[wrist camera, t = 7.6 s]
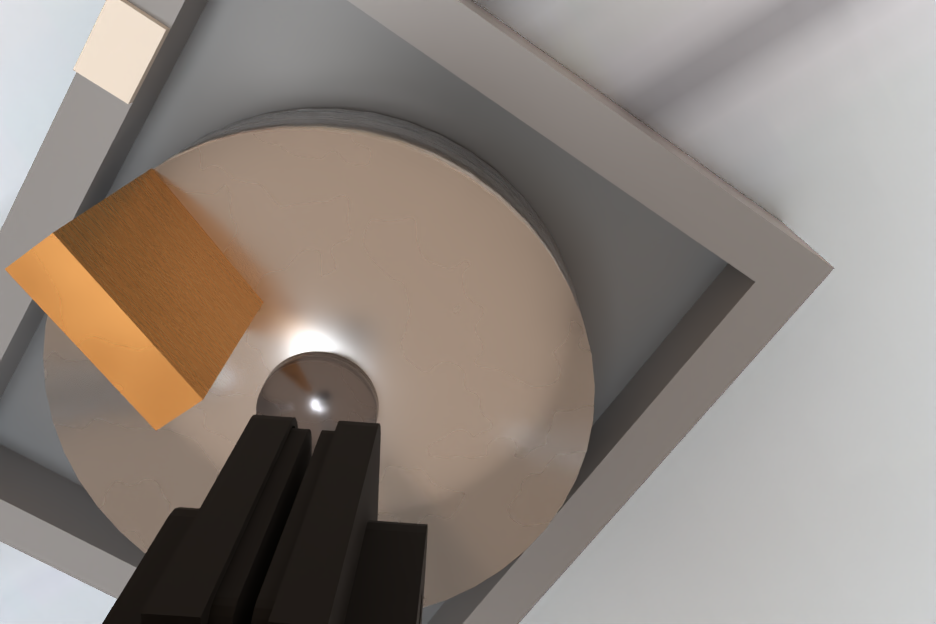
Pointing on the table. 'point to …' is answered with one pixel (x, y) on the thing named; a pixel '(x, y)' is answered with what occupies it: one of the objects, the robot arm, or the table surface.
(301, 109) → the dial
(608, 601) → the table surface
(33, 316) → the tray
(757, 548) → the table surface
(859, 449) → the table surface
